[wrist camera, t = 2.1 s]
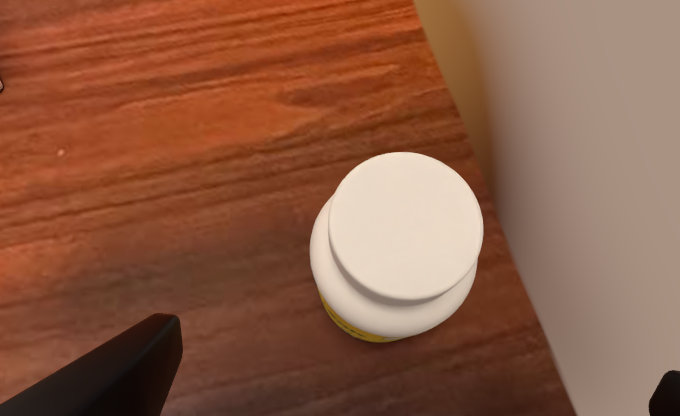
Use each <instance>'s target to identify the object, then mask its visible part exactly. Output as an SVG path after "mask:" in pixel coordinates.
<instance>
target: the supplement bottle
mask: <svg viewBox="0 0 680 416" xmlns="http://www.w3.org/2000/svg"><path fill="white" fill-rule="evenodd" d="M482 240H483V219H482V214H481V211H480V207H479V204H478V202H477V199H476V197H475V195H474V194H473V192H472V190H471V189H470V187H469V186H468V184H467V183H466V182H465V181H464V180H463V179H462V177H460V176H459V175H458V174H457V173H456V172H455V171H454V170H452V169H451V168H450V167H448V166H447V165H445V164H443V163H442V162H440V161H438V160H436V159H433V158H431V157H428V156H425V155H421V154H417V153H410V152H397V153H388V154H383V155H379V156H376V157H373V158H371V159H369V160H367V161H365V162H363V163H361V164H360V165H358V166H357V167H356V168H354V169H353V170H352V171H351V172H350V173H349V174H348V175H347V176H346V177H345V178H344V179H343V181H342V182H341V183H340V185H339V186H338V188H337V190H336V192H335V194H334V195H333V196H332V197H331V198H330V199H329V200H328V201H327V202H326V204H325V205H324V207H323V208H322V210H321V211H320V213H319V215H318V217H317V219H316V221H315V224H314V227H313V231H312V235H311V241H310V260H311V269H312V272H313V277H314V280H315V283H316V285H317V288H318V291H319V294H320V297H321V300H322V302H323V305H324V307H325V309H326V311H327V313H328V314H329V316H330V317H331V319H332V320H333V321H334V322H335V323H336V324H337V325H338V326H339V327H340V328H341V329H342V330H343V331H345V332H346V333H348V334H349V335H351V336H353V337H355V338H358V339H360V340H364V341H369V342H390V341H395V340H399V339H402V338H406V337H409V336H414V335H417V334H420V333H422V332H425V331H427V330H429V329H431V328H433V327H435V326H437V325H438V324H440V323H441V322H443V321H444V320H446V319H447V318H448V317H449V316H451V315H452V314H453V313H454V312H455V311H456V310H457V309H458V308H459V307H460V305H461V304H462V303H463V301H464V300H465V298H466V297H467V295H468V293H469V291H470V289H471V286H472V284H473V281H474V278H475V274H476V269H477V257H478V255H479V252H480V249H481V245H482Z"/></svg>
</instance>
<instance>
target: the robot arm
mask: <svg viewBox="0 0 680 416" xmlns="http://www.w3.org/2000/svg"><path fill="white" fill-rule="evenodd" d="M182 353H183V345H182V336H181V327H180V320H179V318H178V317H177V316H176V315H172V314H163V313H156V314H153V315H151V316H150V317H148V318H146V319H144V320H143V321H141V322H139V323H138V324H136V325H134V326H133V327H131V328H129V329H128V330H126V331H124V332H122V333H121V334H119V335H117V336H116V337H114V338H112V339H111V340H109V341H107V342H105V343H104V344H102V345H100V346H99V347H97V348H95V349H94V350H92V351H90V352H89V353H87V354H85V355H83V356H82V357H80V358H78V359H77V360H75V361H73V362H72V363H70V364H68V365H66V366H65V367H63V368H61V369H60V370H58V371H56V372H55V373H53V374H51V375H50V376H48V377H46V378H44V379H43V380H41V381H39V382H38V383H36V384H34V385H33V386H31V387H29V388H27V389H26V390H24V391H22V392H21V393H19V394H17V395H16V396H14V397H12V398H11V399H9V400H7V401H5V402H4V403H2V404H0V416H160V414H161V411H162V408H163V406H164V403H165V401H166V398H167V395H168V393H169V390H170V388H171V385H172V383H173V380H174V377H175V375H176V372H177V370H178V367H179V364H180V362H181V358H182ZM649 413H650V416H680V371H675V370H672V371H668V372H667V373H666V374H665V375H664V376H663V378H662V379H661V381H660V383H659V385H658V386H657V388H656V390H655V392H654V394H653V395H652V397H651V399H650V401H649Z"/></svg>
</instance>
